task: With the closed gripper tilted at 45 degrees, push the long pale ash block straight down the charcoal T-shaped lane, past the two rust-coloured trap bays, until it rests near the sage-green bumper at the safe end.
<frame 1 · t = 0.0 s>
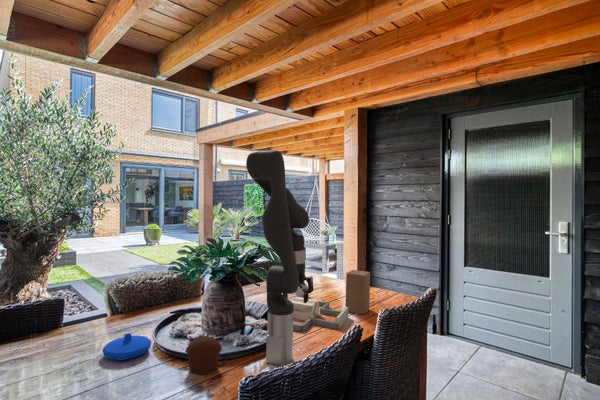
hand: (295, 301, 132), 17 cm above the table, tool pointing down, fingers open, 8 cm apart
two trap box: (320, 319, 160), on the table
ash block: (303, 316, 164), resting in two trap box
die: (301, 297, 194), on the table
wooden block: (357, 311, 173), on the table
blue knobbed lid: (127, 354, 120), on the table
muffin: (203, 368, 112), on the table
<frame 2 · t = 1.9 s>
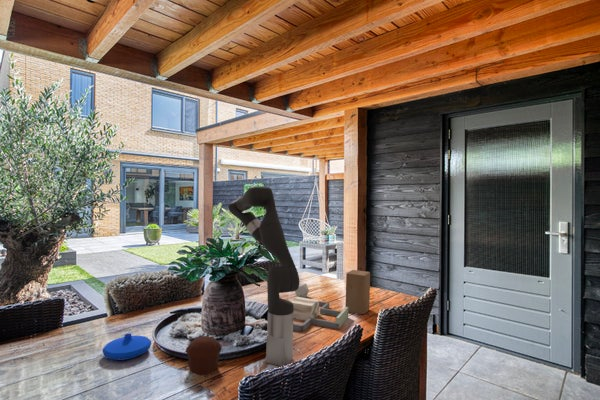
hand: (276, 254, 165), 29 cm above the table, tool tilted 45°, fingers open, 8 cm apart
nothing on the table moved.
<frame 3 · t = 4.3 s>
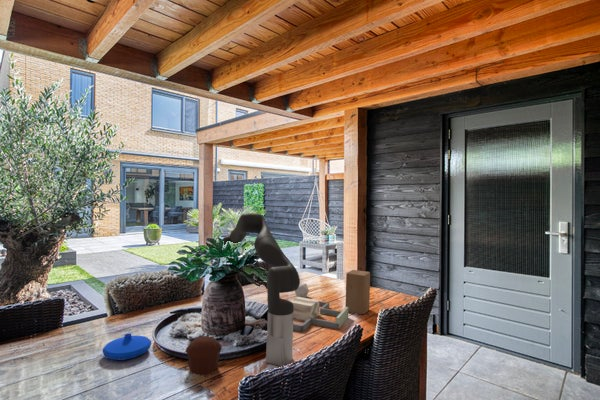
hand: (270, 289, 170), 11 cm above the table, tool tilted 45°, fingers closed
nothing on the table moved.
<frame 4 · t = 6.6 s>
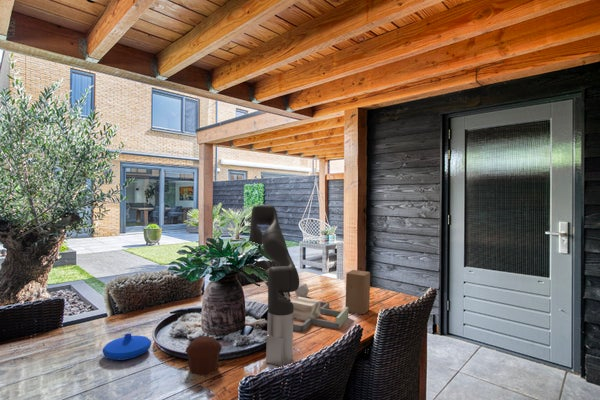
hand: (292, 306, 166), 4 cm above the table, tool tilted 45°, fingers closed
ash block: (304, 316, 163), resting in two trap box, touching gripper
everything else where it was.
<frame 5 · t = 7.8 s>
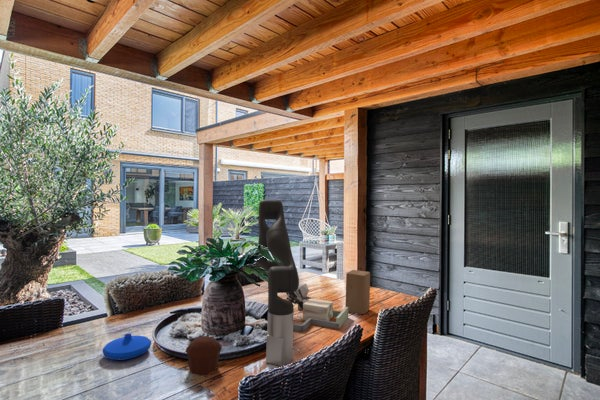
hand: (304, 308, 163), 4 cm above the table, tool tilted 45°, fingers closed
ash block: (317, 318, 161), resting in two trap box, touching gripper
everything else where it was.
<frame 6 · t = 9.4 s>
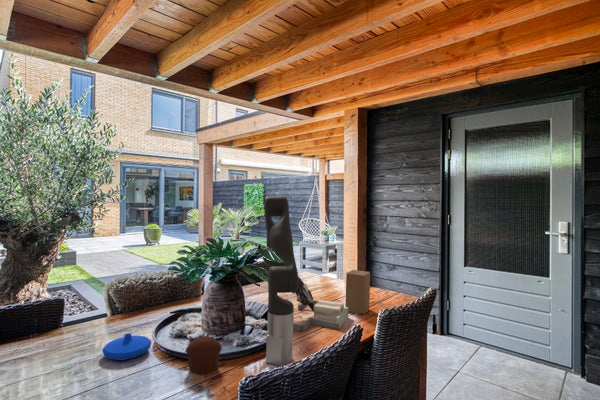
hand: (315, 310, 161), 4 cm above the table, tool tilted 45°, fingers closed
ash block: (328, 320, 159), resting in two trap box, touching gripper
everything else where it was.
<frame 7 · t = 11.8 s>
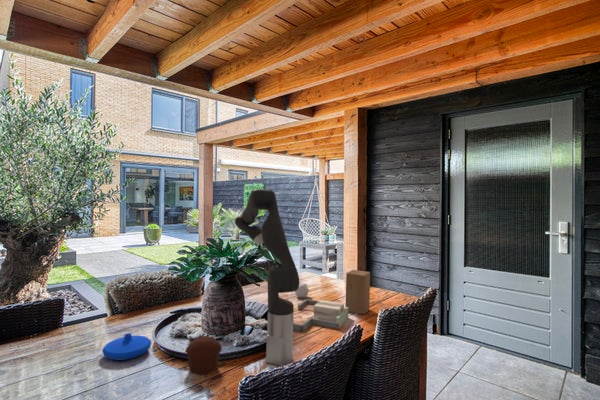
hand: (284, 270, 166), 22 cm above the table, tool tilted 45°, fingers closed
ash block: (328, 320, 159), resting in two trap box
everything else where it was.
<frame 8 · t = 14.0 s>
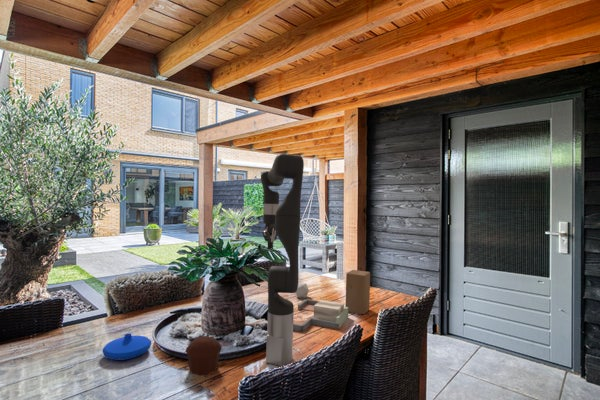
hand: (270, 249, 157), 33 cm above the table, tool pointing down, fingers closed
nothing on the table moved.
at the end: ash block 1.0 cm from the target spot on the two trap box, point 0.0 cm above the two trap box's base; ash block tilted 0°; the gripper is holding nothing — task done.
